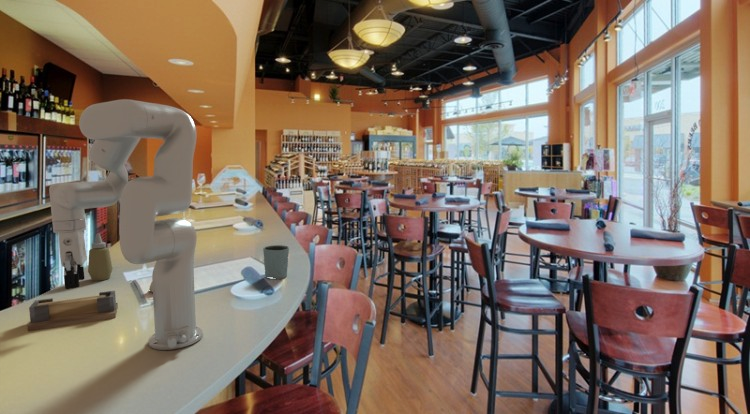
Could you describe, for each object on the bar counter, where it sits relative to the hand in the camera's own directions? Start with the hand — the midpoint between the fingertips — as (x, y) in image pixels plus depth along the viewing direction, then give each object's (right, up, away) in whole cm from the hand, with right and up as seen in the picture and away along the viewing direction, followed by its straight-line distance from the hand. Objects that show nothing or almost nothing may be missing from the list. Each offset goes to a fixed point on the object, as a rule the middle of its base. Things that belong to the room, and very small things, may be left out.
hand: (75, 284), depth 116 cm
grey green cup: (+47, -6, +46) cm, 67 cm away
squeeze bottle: (-21, -6, +41) cm, 47 cm away
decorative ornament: (+10, -8, +25) cm, 29 cm away
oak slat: (-1, -9, +1) cm, 9 cm away
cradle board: (-1, -10, +1) cm, 10 cm away
